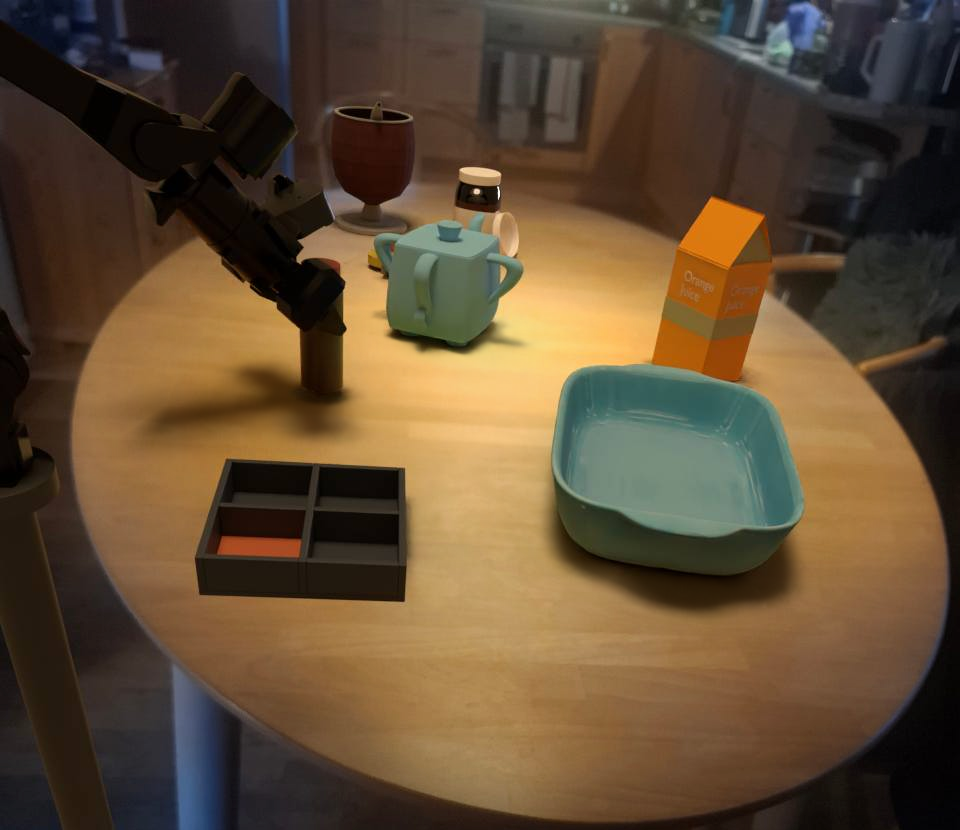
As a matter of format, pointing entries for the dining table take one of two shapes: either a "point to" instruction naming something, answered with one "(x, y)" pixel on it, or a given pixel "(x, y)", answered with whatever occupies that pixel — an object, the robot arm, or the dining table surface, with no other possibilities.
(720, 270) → the orange juice
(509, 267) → the teapot
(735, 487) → the casserole dish
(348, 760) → the dining table surface
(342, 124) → the mate gourd
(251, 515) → the tray
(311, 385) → the pepper grinder
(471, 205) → the spread jar
